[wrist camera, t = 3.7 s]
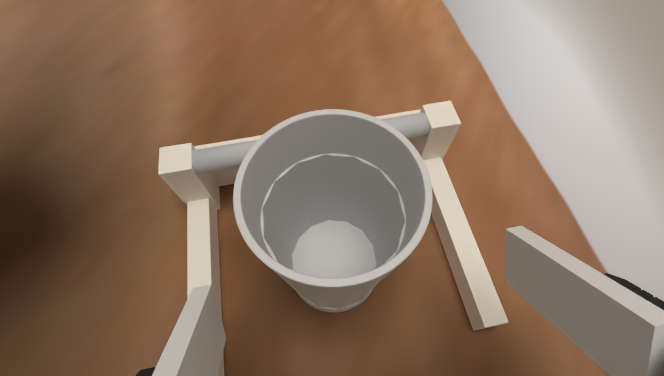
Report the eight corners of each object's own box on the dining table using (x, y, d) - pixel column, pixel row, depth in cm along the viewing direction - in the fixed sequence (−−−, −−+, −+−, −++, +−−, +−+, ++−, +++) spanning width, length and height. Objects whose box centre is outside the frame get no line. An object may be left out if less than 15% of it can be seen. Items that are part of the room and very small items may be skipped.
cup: (339, 194, 27) (341, 81, 16) (414, 271, 24) (475, 194, 14) (255, 259, 25) (195, 177, 14) (327, 353, 22) (319, 338, 11)
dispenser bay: (498, 325, 23) (549, 311, 17) (196, 392, 21) (148, 399, 16) (422, 131, 30) (440, 79, 25) (193, 169, 28) (160, 123, 23)
